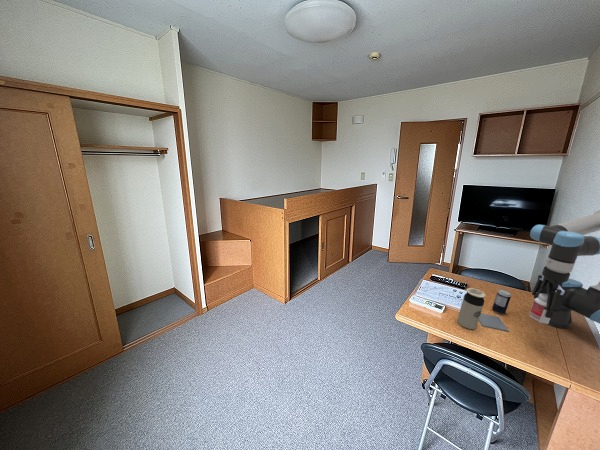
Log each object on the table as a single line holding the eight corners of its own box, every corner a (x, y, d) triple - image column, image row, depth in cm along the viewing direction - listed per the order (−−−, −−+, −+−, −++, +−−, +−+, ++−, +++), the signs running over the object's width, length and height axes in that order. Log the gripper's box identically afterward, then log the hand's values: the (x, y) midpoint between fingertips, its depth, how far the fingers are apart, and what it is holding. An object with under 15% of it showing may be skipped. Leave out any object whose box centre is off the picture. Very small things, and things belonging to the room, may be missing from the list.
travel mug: (453, 318, 124) (462, 287, 119) (469, 319, 123) (479, 288, 118) (463, 329, 116) (472, 296, 111) (480, 330, 116) (490, 297, 111)
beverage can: (507, 315, 128) (514, 295, 125) (495, 313, 129) (501, 294, 126) (501, 309, 133) (507, 290, 130) (489, 307, 134) (495, 288, 131)
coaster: (498, 317, 126) (498, 316, 126) (508, 331, 116) (509, 330, 116) (474, 312, 129) (474, 311, 129) (482, 326, 119) (482, 325, 119)
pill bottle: (547, 325, 101) (556, 302, 97) (527, 317, 105) (536, 295, 102) (548, 319, 105) (557, 296, 101) (529, 312, 109) (537, 290, 106)
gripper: (532, 258, 108) (516, 303, 114) (562, 278, 90) (541, 330, 97) (553, 261, 106) (536, 306, 112) (587, 282, 88) (565, 334, 95)
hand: (538, 317), depth 105 cm, fingers closed on pill bottle, 6 cm apart
